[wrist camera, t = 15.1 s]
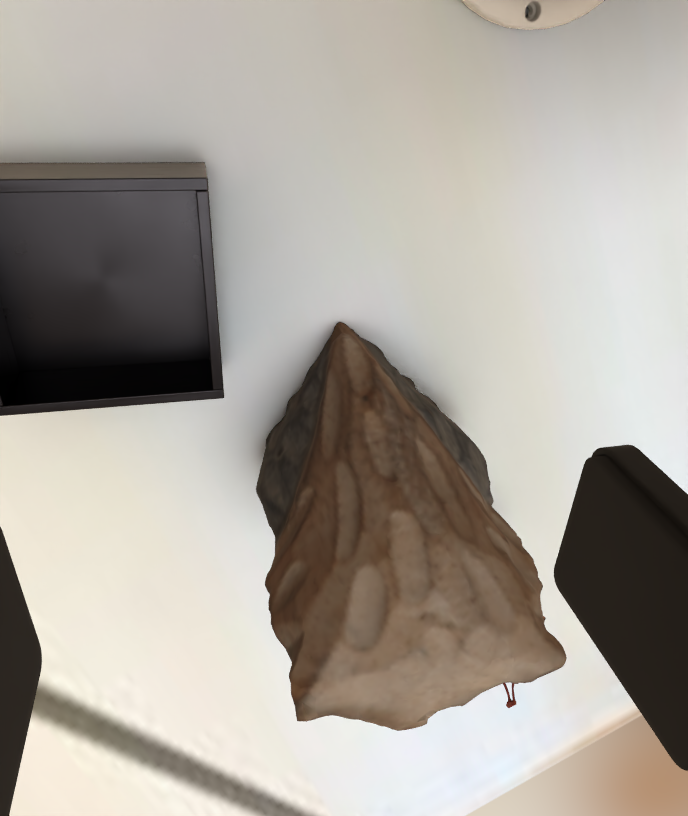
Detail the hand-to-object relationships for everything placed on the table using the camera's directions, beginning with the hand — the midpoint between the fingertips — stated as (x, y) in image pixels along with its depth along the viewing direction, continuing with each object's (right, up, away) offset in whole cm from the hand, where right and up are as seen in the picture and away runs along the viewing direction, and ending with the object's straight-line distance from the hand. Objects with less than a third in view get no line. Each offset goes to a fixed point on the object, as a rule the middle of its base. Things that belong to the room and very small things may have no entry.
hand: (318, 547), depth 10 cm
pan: (-13, +10, +25) cm, 30 cm away
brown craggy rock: (+1, +2, +33) cm, 33 cm away
